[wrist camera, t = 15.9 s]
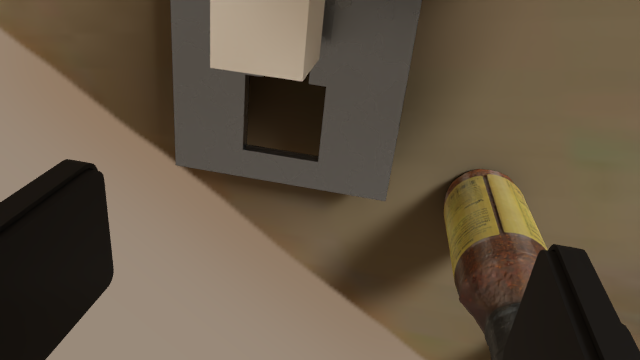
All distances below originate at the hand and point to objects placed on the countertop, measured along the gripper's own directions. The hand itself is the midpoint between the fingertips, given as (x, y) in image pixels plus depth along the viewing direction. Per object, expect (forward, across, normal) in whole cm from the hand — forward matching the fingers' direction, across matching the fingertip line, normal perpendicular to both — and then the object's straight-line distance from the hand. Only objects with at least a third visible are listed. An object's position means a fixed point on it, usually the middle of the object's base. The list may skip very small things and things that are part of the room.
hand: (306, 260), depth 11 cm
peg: (+30, +6, -1) cm, 31 cm away
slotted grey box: (+30, +6, +3) cm, 31 cm away
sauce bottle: (+31, -10, +13) cm, 35 cm away
